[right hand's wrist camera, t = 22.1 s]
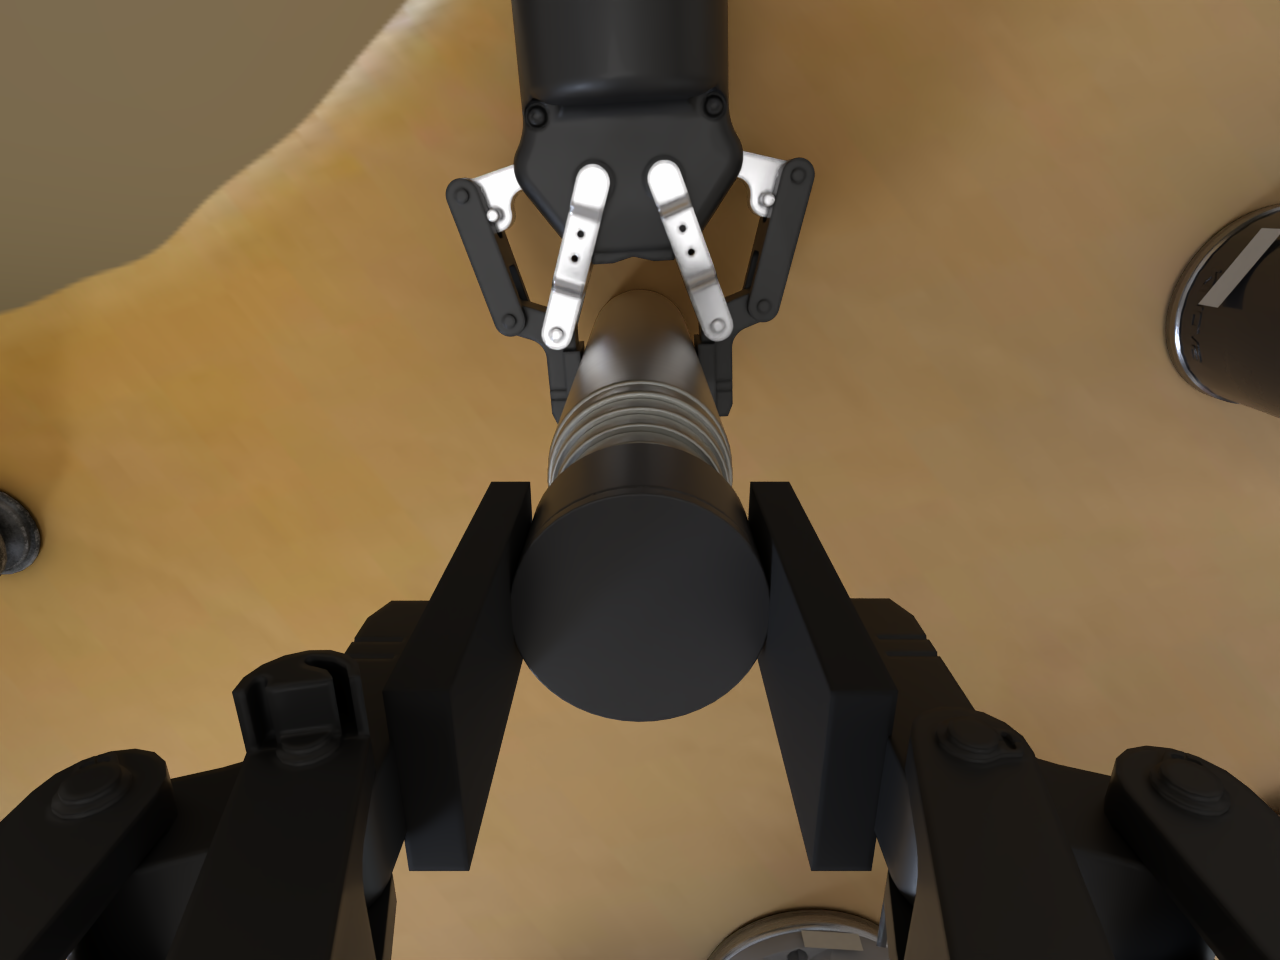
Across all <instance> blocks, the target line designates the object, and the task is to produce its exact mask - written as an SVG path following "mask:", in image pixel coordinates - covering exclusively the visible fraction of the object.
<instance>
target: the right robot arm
mask: <svg viewBox="0 0 1280 960" xmlns="http://www.w3.org/2000/svg"><path fill="white" fill-rule="evenodd" d="M748 522H749V525H750V528H751V531H752V534H753V537H754V540H755V543H756V546H757V549H758V552H759V555H760V558H761V561H762V564H763V567H764V570H765V573H766V577H767V580H768V584H769V588H770V604H769V619H768V631H767V637H766V640H765V643H764V646H763V648H762V650H761V652H760V654H759V656H758V658H757V659H758V663H759V667H760V671H761V674H762V678H763V682H764V686H765V690H766V694H767V698H768V702H769V706H770V710H771V714H772V718H773V722H774V726H775V730H776V734H777V738H778V742H779V745H780V749H781V753H782V757H783V761H784V765H785V769H786V773H787V777H788V781H789V785H790V789H791V793H792V797H793V801H794V805H795V809H796V813H797V817H798V820H799V824H800V828H801V832H802V836H803V840H804V844H805V848H806V852H807V856H808V860H809V864H810V868H811V871H871V870H872V863H873V857H874V850H875V843H876V837H877V839H878V842H879V845H880V848H881V850H882V853H883V856H884V858H885V861H886V864H887V866H888V874H887V881H886V887H885V893H884V899H883V905H882V911H881V918H880V924H879V926H878V925H876V924H875V923H873V922H871V921H868V920H866V919H864V918H861V917H858V916H855V915H851V914H847V913H843V912H837V911H829V910H799V911H791V912H785V913H780V914H776V915H772V916H769V917H766V918H763V919H760V920H757V921H755V922H753V923H751V924H749V925H746V926H745V927H743V928H741V929H739V930H738V931H736V932H735V933H733V934H732V935H730V936H729V937H728V938H726V939H725V940H724V941H723V942H722V943H721V944H720V945H719V946H718V947H717V948H716V949H715V950H714V951H713V953H712V954H711V955H710V957H709V958H708V960H1215V959H1214V958H1215V955H1216V956H1217V958H1218V959H1219V960H1280V817H1279V816H1278V815H1277V814H1276V813H1275V812H1274V811H1273V810H1272V809H1271V808H1270V807H1269V806H1268V805H1267V804H1266V803H1265V802H1263V801H1262V800H1261V799H1260V798H1259V797H1258V796H1257V795H1256V794H1255V793H1254V792H1253V791H1252V790H1251V789H1250V788H1248V787H1247V786H1246V785H1244V784H1243V783H1242V782H1240V781H1239V780H1238V779H1236V778H1235V777H1234V776H1232V775H1231V774H1230V773H1229V772H1227V771H1226V770H1224V769H1222V768H1220V767H1218V766H1216V765H1214V764H1212V763H1210V762H1208V761H1206V760H1204V759H1202V758H1200V757H1197V756H1194V755H1191V754H1189V753H1184V752H1182V751H1178V750H1175V749H1171V748H1163V747H1154V746H1141V747H1136V748H1130V749H1127V750H1125V751H1124V752H1123V753H1122V754H1121V755H1120V756H1118V757H1117V758H1116V761H1115V764H1114V768H1113V771H1112V775H1111V776H1108V775H1103V774H1099V773H1094V772H1090V771H1085V770H1081V769H1076V768H1072V767H1067V766H1063V765H1058V764H1055V763H1051V762H1048V761H1044V760H1041V759H1038V758H1036V757H1035V754H1034V752H1033V751H1032V749H1031V748H1030V746H1029V745H1028V743H1027V742H1026V740H1025V739H1024V737H1023V736H1022V735H1020V734H1019V733H1018V732H1017V731H1015V730H1014V729H1013V728H1011V727H1010V726H1009V725H1008V724H1006V723H1005V722H1003V721H1001V720H999V719H996V718H994V717H992V716H990V715H988V714H986V713H984V712H979V711H975V709H974V708H973V706H972V705H971V703H970V702H969V700H968V699H967V697H966V696H965V694H964V693H963V691H962V689H961V688H960V686H959V685H958V683H957V682H956V680H955V679H954V677H953V676H952V674H951V673H950V671H949V670H948V668H947V666H946V665H945V663H944V662H943V660H942V659H941V657H940V656H937V651H936V650H935V648H934V647H933V645H932V643H931V642H930V640H927V639H926V634H925V633H924V631H923V630H922V628H921V627H920V625H919V624H918V622H917V620H916V619H915V617H914V616H913V615H912V614H910V613H909V612H907V611H906V610H905V609H903V608H902V607H900V606H899V605H898V604H896V603H895V602H893V601H892V600H891V599H866V598H850V597H849V595H848V594H847V592H846V590H845V588H844V586H843V584H842V582H841V580H840V578H839V576H838V574H837V573H836V571H835V569H834V567H833V565H832V563H831V561H830V559H829V557H828V555H827V553H826V551H825V550H824V548H823V546H822V544H821V542H820V540H819V538H818V536H817V534H816V532H815V530H814V529H813V527H812V525H811V523H810V521H809V519H808V517H807V515H806V513H805V511H804V509H803V507H802V506H801V504H800V502H799V500H798V498H797V496H796V494H795V492H794V490H793V488H792V486H791V484H790V483H789V482H750V498H749V516H748ZM531 524H532V507H531V490H530V482H491V484H490V485H489V487H488V489H487V491H486V493H485V495H484V497H483V499H482V501H481V503H480V505H479V506H478V508H477V510H476V512H475V514H474V516H473V518H472V520H471V522H470V524H469V526H468V528H467V529H466V531H465V533H464V535H463V537H462V539H461V541H460V543H459V545H458V547H457V549H456V551H455V552H454V554H453V556H452V558H451V560H450V562H449V564H448V566H447V568H446V570H445V572H444V573H443V575H442V577H441V579H440V581H439V583H438V585H437V587H436V589H435V591H434V593H433V595H432V596H431V598H430V600H429V601H391V602H389V603H388V604H386V605H385V606H384V607H382V608H381V609H379V610H378V611H377V612H375V613H374V614H372V615H371V616H370V617H368V618H367V620H366V621H365V623H364V624H363V626H362V627H361V629H360V630H359V632H358V633H357V635H356V637H355V641H354V642H352V643H351V644H350V646H349V647H348V649H347V650H346V652H345V654H344V653H340V652H336V651H332V650H308V651H303V652H299V653H294V654H289V655H285V656H282V657H280V658H278V659H275V660H273V661H270V662H268V663H265V664H263V665H261V666H260V667H258V668H257V669H255V670H254V671H252V672H251V673H249V674H248V675H247V676H245V677H244V678H243V679H242V680H241V681H240V683H239V684H238V685H237V686H236V688H235V689H234V690H233V691H232V694H233V698H234V702H235V706H236V710H237V715H238V719H239V723H240V727H241V731H242V736H243V740H244V744H245V748H246V752H247V753H246V756H245V758H244V761H243V762H240V763H236V764H233V765H230V766H226V767H223V768H218V769H214V770H209V771H205V772H200V773H195V774H191V775H186V776H182V777H177V778H173V779H170V776H169V772H168V769H167V766H166V762H165V761H164V760H163V759H162V758H161V757H160V756H158V755H157V754H156V753H155V752H151V751H145V750H140V749H128V750H119V751H110V752H107V753H104V754H100V755H98V756H93V757H91V758H88V759H85V760H82V761H80V762H78V763H76V764H74V765H72V766H70V767H68V768H66V769H64V770H62V771H60V772H58V773H56V774H55V775H53V776H52V777H51V778H49V779H48V780H47V781H46V782H44V783H43V784H42V785H40V786H39V787H38V788H36V789H35V790H34V791H32V792H31V793H30V794H29V795H28V796H27V797H26V798H25V799H24V800H23V801H22V802H21V803H20V804H19V805H18V806H17V807H16V808H14V809H13V810H12V811H11V812H10V813H9V814H8V815H7V816H6V817H5V818H4V819H3V820H2V821H1V822H0V960H66V958H67V960H391V954H392V944H393V934H394V923H395V913H396V903H397V900H396V894H395V887H394V881H393V874H392V872H393V869H394V866H395V863H396V861H397V858H398V855H399V852H400V850H401V847H402V844H403V842H404V840H405V847H406V853H407V860H408V867H409V871H469V870H470V866H471V862H472V858H473V854H474V850H475V846H476V842H477V838H478V834H479V830H480V826H481V822H482V818H483V814H484V810H485V807H486V803H487V799H488V795H489V791H490V787H491V783H492V779H493V775H494V771H495V767H496V763H497V759H498V755H499V751H500V747H501V743H502V739H503V735H504V732H505V728H506V724H507V720H508V716H509V712H510V708H511V704H512V700H513V696H514V692H515V688H516V684H517V680H518V676H519V672H520V668H521V664H522V661H523V658H522V656H521V654H520V652H519V649H518V647H517V645H516V643H515V640H514V636H513V626H512V612H511V596H510V590H511V585H512V581H513V578H514V575H515V572H516V569H517V566H518V563H519V560H520V557H521V554H522V551H523V548H524V545H525V542H526V539H527V536H528V533H529V530H530V527H531Z"/></svg>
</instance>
